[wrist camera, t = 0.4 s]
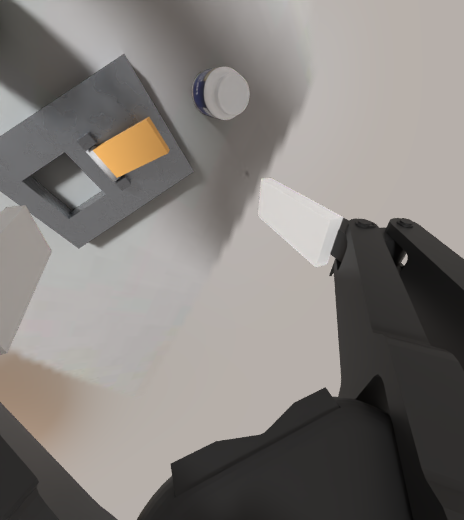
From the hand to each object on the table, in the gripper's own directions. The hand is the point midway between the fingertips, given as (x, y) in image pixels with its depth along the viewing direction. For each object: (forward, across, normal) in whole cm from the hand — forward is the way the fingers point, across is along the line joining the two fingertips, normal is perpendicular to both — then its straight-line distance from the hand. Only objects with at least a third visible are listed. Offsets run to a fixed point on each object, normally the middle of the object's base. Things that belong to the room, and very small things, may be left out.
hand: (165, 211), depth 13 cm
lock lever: (+21, -1, 0) cm, 21 cm away
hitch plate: (+26, -6, -2) cm, 27 cm away
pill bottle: (+26, +11, +6) cm, 29 cm away
